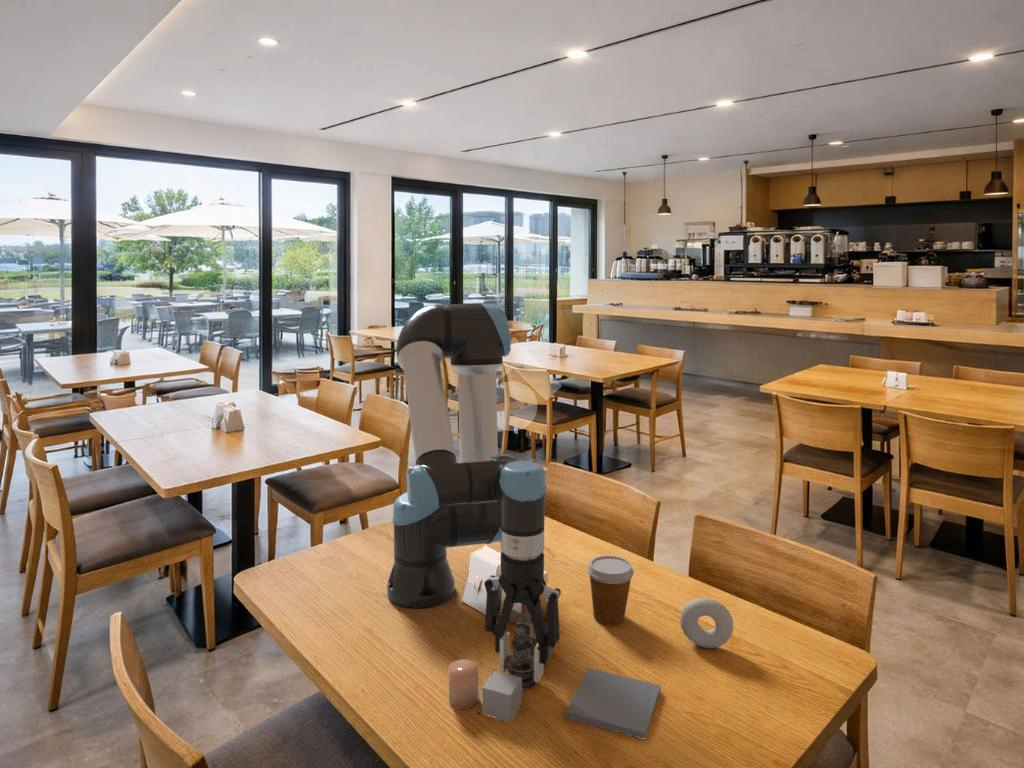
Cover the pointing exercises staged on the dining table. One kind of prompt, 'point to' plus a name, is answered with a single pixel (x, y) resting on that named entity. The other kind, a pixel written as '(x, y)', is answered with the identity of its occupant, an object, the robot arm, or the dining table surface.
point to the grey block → (502, 696)
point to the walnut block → (534, 642)
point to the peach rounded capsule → (463, 684)
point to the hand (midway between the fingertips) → (521, 673)
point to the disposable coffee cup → (610, 588)
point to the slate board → (614, 702)
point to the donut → (713, 610)
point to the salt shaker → (521, 655)
